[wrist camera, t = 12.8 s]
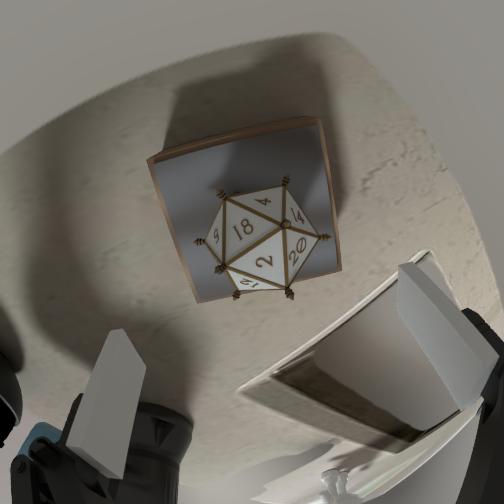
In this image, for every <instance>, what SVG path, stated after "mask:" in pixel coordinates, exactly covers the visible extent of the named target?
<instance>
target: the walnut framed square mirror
mask: <svg viewBox="0 0 504 504" xmlns="http://www.w3.org/2000/svg"><path fill="white" fill-rule="evenodd" d="M146 161H147V164H148V167H149V170H150V173H151V177H152V180H153V183H154V186H155V189H156V192H157V195H158V198H159V201H160V204H161V207H162V210H163V213H164V216H165V219H166V222H167V225H168V227H169V230H170V233H171V236H172V239H173V242H174V244H175V247H176V250H177V252H178V255H179V258H180V261H181V263H182V266H183V268H184V271H185V274H186V276H187V279H188V281H189V284H190V287H191V289H192V292H193V294H194V297H195V299H196V302H197V304H198V303H203V302H208V301H213V300H217V299H222V298H227V297H232V295H233V294H234V292H235V291H236V288H235V287H234V286H233V284H232V283H231V281H230V280H229V278H228V277H227V276H226V274H225V273H224V272H223V273H221V275H220V274H215V273H214V272H215V267H216V266H217V265H219V264H218V263H217V261H216V260H215V258H214V257H213V255H212V254H211V253H210V251H209V250H208V248H207V247H206V245H205V244H202V245H198V246H197V244H195V243H193V242H194V241H195V240H196V239H197V238H199V239H200V238H202V239H205V238H206V235H207V233H208V231H209V229H210V226H211V224H212V222H213V220H214V218H215V216H216V213H217V211H218V209H219V207H220V205H221V203H222V199H221V198H220V199H219V197H218V196H216V195H217V192H216V188H217V189H222V190H224V192H225V193H226V196H231V195H233V194H234V191H235V192H239V193H244V192H248V191H253V190H258V189H263V188H267V187H272V186H277V185H281V184H282V180H283V177H285V176H286V175H288V174H290V181H289V184H287V185H286V187H287V189H288V190H289V191H290V193H291V194H292V196H293V197H294V199H295V200H296V201H297V203H298V204H299V206H300V207H301V209H302V210H303V212H304V213H305V215H306V216H307V218H308V219H309V221H310V222H311V224H312V225H313V227H314V228H315V230H316V231H317V233H318V234H319V235H322V234H326V233H327V234H328V235H330V236H332V238H330V239H329V240H327V241H323V240H319V241H318V243H317V244H316V246H315V248H314V249H313V251H312V253H311V254H310V256H309V257H308V259H307V261H306V262H305V264H304V265H303V267H302V268H301V270H300V272H299V273H298V275H297V276H296V278H295V280H294V281H293V283H294V282H298V281H303V280H307V279H311V278H315V277H319V276H323V275H327V274H331V273H335V272H339V271H342V264H341V253H340V243H339V234H338V225H337V216H336V208H335V201H334V193H333V186H332V180H331V173H330V167H329V160H328V154H327V148H326V143H325V137H324V132H323V126H322V121H321V117H308V116H303V117H297V118H292V119H286V120H281V121H276V122H271V123H266V124H261V125H256V126H252V127H247V128H243V129H239V130H235V131H230V132H226V133H222V134H218V135H215V136H211V137H207V138H203V139H200V140H196V141H193V142H189V143H186V144H182V145H179V146H176V147H172V148H169V149H166V150H163V151H161V152H159V153H157V154H155V155H154V156H152V157H150V158H149V159H147V160H146ZM250 292H255V291H241V292H240V295H241V294H246V293H250Z"/></svg>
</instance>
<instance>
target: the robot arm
mask: <svg viewBox="0 0 504 504" xmlns="http://www.w3.org/2000/svg"><path fill="white" fill-rule="evenodd" d="M396 312H397V314H398V315H399V316H400V318H401V319H402V321H403V322H404V323H405V325H406V326H407V328H408V329H409V330H410V332H411V334H412V335H413V336H414V338H415V339H416V341H417V342H418V344H419V345H420V347H421V348H422V350H423V351H424V353H425V354H426V356H427V357H428V359H429V360H430V362H431V363H432V365H433V367H434V368H435V370H436V371H437V373H438V374H439V376H440V378H441V379H442V381H443V382H444V384H445V386H446V387H447V389H448V391H449V392H450V394H451V395H452V397H453V399H454V400H455V402H456V404H457V406H458V407H459V409H460V411H463V410H465V409H466V408H468V407H470V406H472V405H473V404H475V403H476V402H477V400H478V398H479V396H480V395H482V397H483V398H484V401H483V403H482V404H481V406H480V408H479V409H478V411H477V414H476V415H479V414H480V412H481V415H480V420H479V425H478V430H477V435H476V439H475V444H474V447H473V451H472V455H471V459H470V462H469V466H468V469H467V472H466V476H465V479H464V482H463V485H462V488H461V491H460V493H459V496H458V499H457V501H456V504H504V342H503V341H502V340H501V339H500V337H499V336H498V335H497V334H496V333H495V332H494V331H493V329H491V328H490V326H489V325H488V324H487V323H485V321H484V320H483V318H482V317H481V316H480V315H479V314H478V313H476V312H474V311H473V310H471V309H469V308H466V309H464V310H461V311H460V310H459V309H458V308H457V306H456V305H455V304H454V303H453V302H452V301H451V300H450V299H449V298H448V297H447V296H446V295H445V294H444V293H443V292H442V291H441V290H440V289H439V288H438V286H437V285H436V284H435V283H433V281H432V280H431V279H430V278H428V276H427V275H426V274H425V273H424V272H423V271H422V270H420V269H419V268H418V267H417V266H416V265H415V264H414V263H413V262H412V261H411V262H408V263H405V264H401V265H398V291H397V308H396ZM146 368H147V367H146V365H145V364H144V362H143V361H142V359H141V358H140V356H139V354H138V353H137V351H136V350H135V348H134V346H133V345H132V343H131V341H130V340H129V338H128V336H127V335H126V333H125V331H124V329H116V330H110V332H109V334H108V336H107V339H106V341H105V343H104V345H103V348H102V350H101V352H100V355H99V357H98V359H97V362H96V364H95V367H94V369H93V372H92V374H91V376H90V379H89V381H88V384H87V387H86V389H85V392H84V393H80V394H79V395H78V397H77V398H76V399H75V400H74V402H73V404H72V407H71V409H70V413H69V415H68V417H67V421H66V423H65V426H64V428H63V431H61V430H59V429H58V428H56V427H54V426H52V425H50V424H48V423H46V422H39V423H37V424H36V425H35V426H34V427H33V429H32V430H31V432H30V433H29V435H28V437H27V438H26V440H25V442H24V443H23V445H22V447H21V449H20V450H19V452H18V454H17V456H16V457H15V458H14V459H13V461H12V463H11V468H10V473H11V495H12V504H177V501H178V484H179V469H180V463H181V461H182V459H183V457H184V455H185V453H186V451H187V449H188V447H189V445H190V443H191V440H192V426H191V424H190V423H189V422H188V420H186V419H185V418H184V417H183V416H181V415H180V414H178V413H176V412H174V411H172V410H170V409H167V408H164V407H161V406H158V405H153V404H148V403H139V402H138V401H139V397H140V392H141V388H142V384H143V380H144V376H145V372H146Z"/></svg>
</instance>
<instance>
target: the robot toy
mask: <svg viewBox="0 0 504 504" xmlns="http://www.w3.org/2000/svg"><path fill="white" fill-rule="evenodd" d="M320 476H321V481H324V483H325V485H327V487H328V490H324V491H322V492H321V493H319V496H320V498H321V499H322V501H323V502H324V504H362V500H363V499H362V498H358V495H357V494H350V493H347V492H346V488H345V485H346V483H347V479H348V474H347V472H341V473H339V471H338V470H329V471H326V472H324V473H322V474H321V475H320ZM337 490H338V492H337Z"/></svg>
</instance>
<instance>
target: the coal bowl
mask: <svg viewBox="0 0 504 504" xmlns="http://www.w3.org/2000/svg"><path fill="white" fill-rule="evenodd" d="M22 408H23V403H22V394H21V389H20V386H19V382H18V380H17V377H16V375H15V373H14V371H13V370H12V368H11V366H10V365H9V363H8V362H7V361H6V360H5V358H4V357H3V356H2V355H1V354H0V448H2V447H3V446H4V443H3V441H4V440H5V439H6V438H7V437H8V435H9V433H10V432H11V431H12V429H13V427H14V426H18V425H19V423H20V420H21V416H22Z"/></svg>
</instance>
